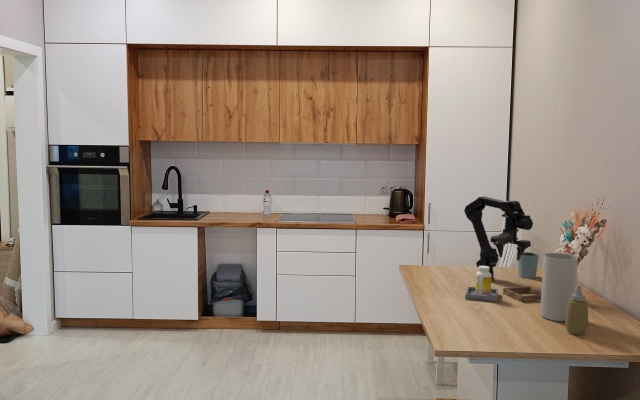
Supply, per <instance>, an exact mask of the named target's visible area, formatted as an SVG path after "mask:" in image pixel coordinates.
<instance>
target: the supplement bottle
mask: <svg viewBox="0 0 640 400" xmlns="http://www.w3.org/2000/svg"><path fill="white" fill-rule="evenodd" d="M489 269H490V267H488V266H479V267H478V271H477V272H476V275H475V287H476V289H475V293H476V295H485V296H490V295H491V289H492V280H491V273H490V272H489Z"/></svg>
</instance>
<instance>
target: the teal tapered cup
mask: <svg viewBox="0 0 640 400" xmlns="http://www.w3.org/2000/svg"><path fill="white" fill-rule="evenodd" d="M539 259H540V254H539V253H535V252H528V251H527V252H526V251H524V252H523V254H522V256H521V258H520V259H519V261H517V263H518V265H517V266H518V267H517V268H518V274H517V275H518V277H519V276H520V277H519V278H521V277H523V278H522V279H526V278H534V279H536V278H537V272H538V264H539ZM535 277H536V278H535Z"/></svg>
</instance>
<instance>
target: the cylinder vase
mask: <svg viewBox="0 0 640 400" xmlns="http://www.w3.org/2000/svg"><path fill="white" fill-rule="evenodd" d="M578 260H579V258H578V256H576V255H573V254H569V253H563V252H547V253H544V254H543V262H542V275H541V277H542V278H541V291H542V292H541V301H540V311H539V313H540V317H542V318H544V319H545V318H546V319H545V320H548V319H549V321H552V320H553V321H552V322H559V321H561V322H560V323H562V322H563V321H565V318H566V313H567V307H568V301H569V300H571V297H572V294H575V292H576V288H577V273H578Z"/></svg>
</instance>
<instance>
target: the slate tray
mask: <svg viewBox="0 0 640 400" xmlns="http://www.w3.org/2000/svg"><path fill="white" fill-rule="evenodd" d="M475 289H476V286H467V287H466V291H465V294H464V296H465V298H464V300H471V301H481V302H491V303H498V299H499V289H497V288H491V295H490V296H485V295H476V293H475Z"/></svg>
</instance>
